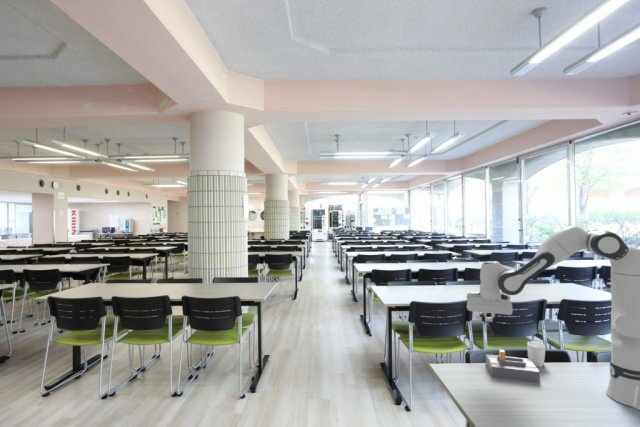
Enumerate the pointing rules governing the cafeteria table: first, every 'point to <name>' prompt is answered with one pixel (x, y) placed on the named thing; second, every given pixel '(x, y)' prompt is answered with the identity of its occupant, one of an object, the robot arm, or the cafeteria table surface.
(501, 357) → the breaker toggle
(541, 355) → the white cup
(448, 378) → the cafeteria table surface
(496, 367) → the breaker box
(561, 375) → the cafeteria table surface
